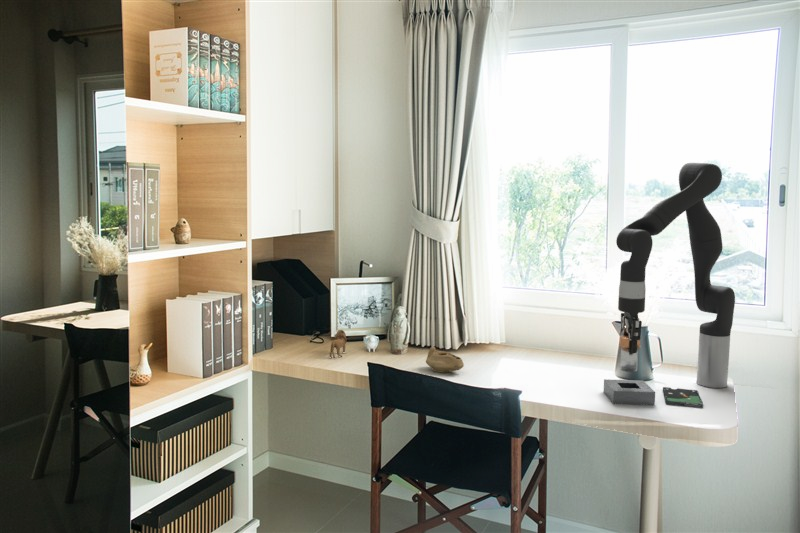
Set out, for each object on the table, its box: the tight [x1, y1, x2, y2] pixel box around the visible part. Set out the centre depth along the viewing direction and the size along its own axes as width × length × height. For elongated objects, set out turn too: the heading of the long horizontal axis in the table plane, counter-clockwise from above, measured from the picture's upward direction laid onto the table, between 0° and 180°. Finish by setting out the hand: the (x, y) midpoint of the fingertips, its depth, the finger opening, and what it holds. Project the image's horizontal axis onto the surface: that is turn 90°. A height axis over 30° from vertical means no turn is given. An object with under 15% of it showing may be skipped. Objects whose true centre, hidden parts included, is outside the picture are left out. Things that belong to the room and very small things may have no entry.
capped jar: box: [618, 335, 642, 373], centre depth 196 cm, size 6×6×10 cm
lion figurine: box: [329, 329, 347, 359], centre depth 251 cm, size 15×5×9 cm, turn 175°
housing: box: [603, 379, 656, 406], centre depth 197 cm, size 12×12×5 cm
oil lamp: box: [425, 346, 465, 373], centre depth 230 cm, size 11×15×8 cm
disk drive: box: [662, 386, 704, 409], centre depth 197 cm, size 10×3×15 cm
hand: (629, 350), depth 196 cm, fingers closed on capped jar, 6 cm apart
